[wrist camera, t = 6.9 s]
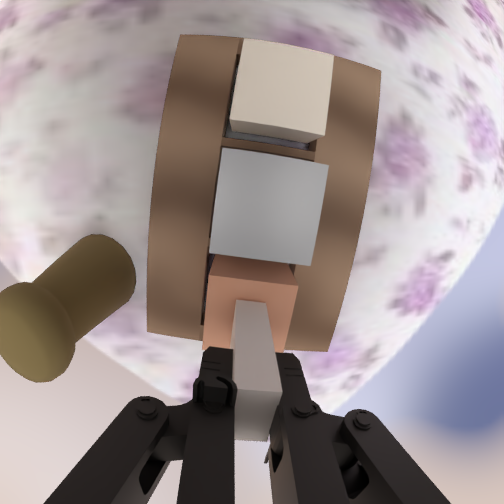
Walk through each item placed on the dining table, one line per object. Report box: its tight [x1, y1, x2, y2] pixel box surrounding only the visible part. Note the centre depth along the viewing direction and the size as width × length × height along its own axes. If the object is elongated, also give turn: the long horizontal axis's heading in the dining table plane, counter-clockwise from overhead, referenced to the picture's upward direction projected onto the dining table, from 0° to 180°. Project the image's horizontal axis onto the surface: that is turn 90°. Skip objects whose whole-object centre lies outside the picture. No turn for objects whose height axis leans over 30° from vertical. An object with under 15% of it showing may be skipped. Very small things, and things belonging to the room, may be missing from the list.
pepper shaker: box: [0, 234, 136, 382], centre depth 14 cm, size 6×6×11 cm
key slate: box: [209, 148, 329, 266], centre depth 14 cm, size 4×4×4 cm
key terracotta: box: [202, 254, 298, 353], centre depth 17 cm, size 4×4×4 cm
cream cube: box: [230, 38, 334, 143], centre depth 14 cm, size 4×4×4 cm
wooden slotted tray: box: [147, 35, 381, 352], centre depth 18 cm, size 20×13×2 cm, turn 172°
